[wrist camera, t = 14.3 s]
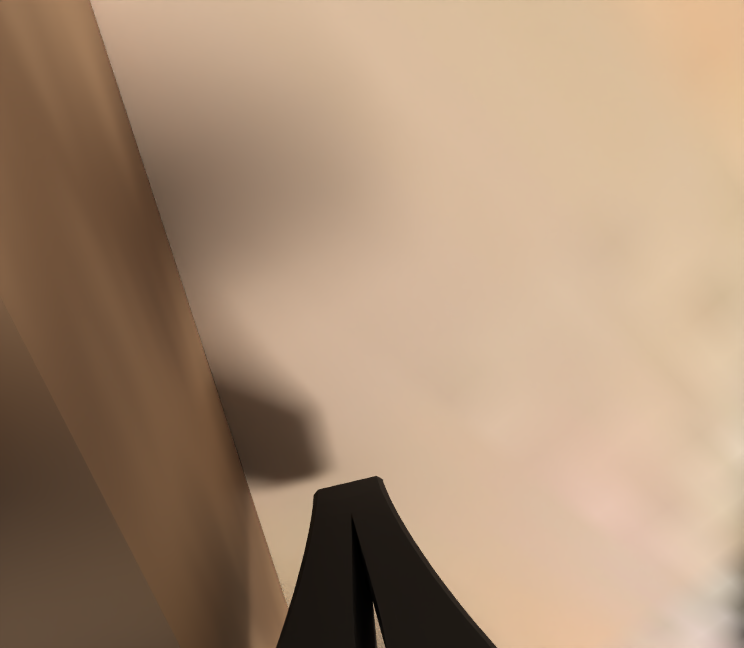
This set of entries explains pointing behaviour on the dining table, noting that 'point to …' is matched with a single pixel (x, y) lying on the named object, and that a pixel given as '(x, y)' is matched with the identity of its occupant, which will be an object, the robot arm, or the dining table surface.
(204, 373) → the wooden notched bar
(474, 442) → the dining table surface
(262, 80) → the dining table surface
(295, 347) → the dining table surface
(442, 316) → the dining table surface
